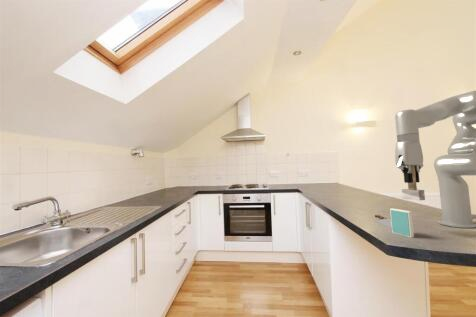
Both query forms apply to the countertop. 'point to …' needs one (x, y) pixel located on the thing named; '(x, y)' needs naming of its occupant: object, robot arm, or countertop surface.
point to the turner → (413, 189)
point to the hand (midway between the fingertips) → (411, 182)
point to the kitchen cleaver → (383, 220)
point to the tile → (402, 222)
